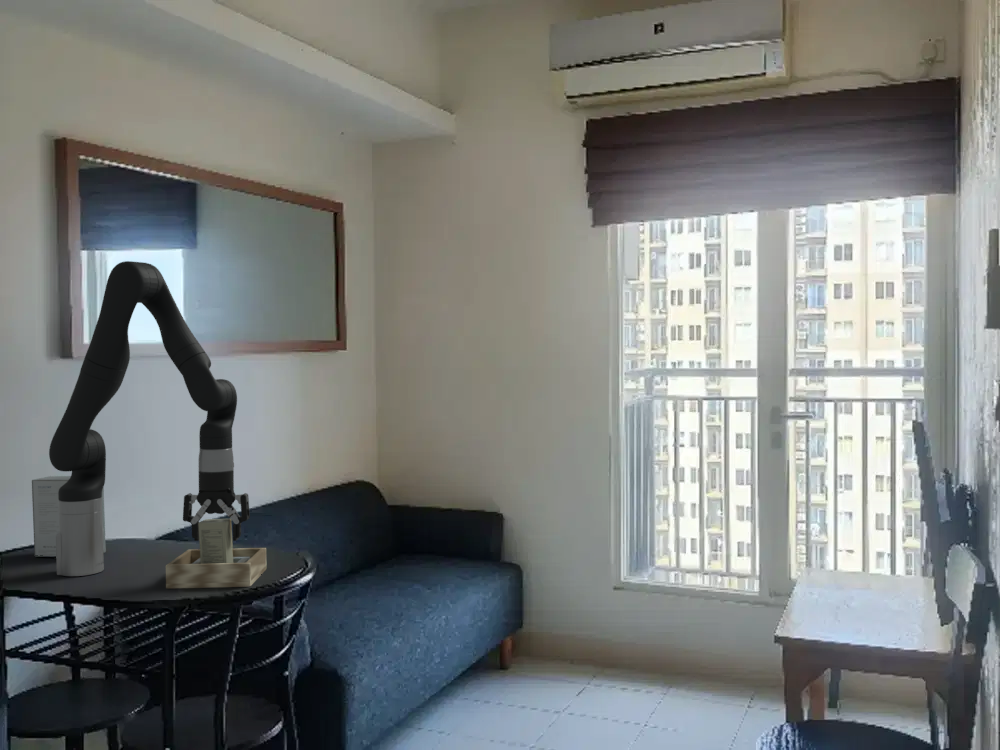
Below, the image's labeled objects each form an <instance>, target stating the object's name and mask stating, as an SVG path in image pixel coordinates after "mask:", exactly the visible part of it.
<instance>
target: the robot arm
mask: <svg viewBox="0 0 1000 750" xmlns="http://www.w3.org/2000/svg"><path fill="white" fill-rule="evenodd" d="M138 303H139V304H142V306H144V307H145V308H146V309H147V311H149V312H150V314H151V316H153V318H154V320H155V322H156V324H157V326H158V328H159V332H160V337H161V341H162V344H163V347H164V349H165V351H166V354H167V355H168V357H169V359H170V360H171V362H172V363H173V364H174V366H175V367H176V369H177V370H178V371H179V373H180V374H181V376H182V378H183V381H184V383H185V386H186V389H187V391H188V394H189V395H190V398H191V400H192V401H193V402H194V404H195V405H196V406H197V407H198V408H200V409H201V410H203V411H204V412H207V413H206V420H204V421H205V422H203V423H202V424H201V425H200V428H199V435H198V436H199V452H198V453H199V454H198V493H197V494H193V493H191V492H190V493H187V494H185V495H184V496H183V507H182V509H183V511H182V512H183V513H182V520H183V521H184V522H188V523H189V524H191V538H192V539H194V541H197V542H198V541H199V525H198V522H201V520H202V518H203V517H204V515H205V514H206V513H207V514H208V515H213V514H218V515H222V514H226V515H227V517H228V518H229V519H231V522H232V523H233V524H232V542H233V541H238V540H239V539H240V537H241V536H242V523H243V522H247V520H250V517H251V516H250V500H249V494H248V493H246V492H245V493H242V494H236V493H235V490H234V489H235V488H234V487H235V485H234V483H235V481H234V470H235V469H234V468H235V463H234V451H233V425H234V421H235V416H236V411H237V406H238V405H237V404H238V394H237V389H236V388H235V386H234V384H233V383H232V382H231V381H229V380H227V379H223V378H222V379H221V378H219V379H218V378H217V379H216V378H215V377H214V375H213V373H212V371H211V370H210V369H211V366H212V361H211V359H210V357H209V355H208V354H207V352H206V351H205V349H204V348H203V347H202V345H201V344H200V343H199V341H198V339H197V338H196V337H195V335H194V334H193V332H192V331H191V329H190V327H189V326H188V324H187V322H186V321H185V319H184V317H183V315H182V313H181V312H180V309H179V307H178V305H177V303H176V301H175V299H174V297H173V296H172V292H171V290H170V288H169V286H168V284H167V282H166V279H165V278H164V276H163V274H162V273H161V271H160V270H159V268H157V267H156V266H155V265H153V264H151V263H148V262H141V261H132V260H131V261H129V260H127V261H126V260H124V261H122V262H119V263H117V264H116V265H115V266H114V267H113V268H112V269H111V270H110V273H109V276H108V279H107V281H106V284H105V289H104V294H103V299H102V303H101V308H100V312H99V315H98V318H97V322H96V324H95V328H94V331H93V334H92V337H91V340H90V343H89V345H88V348H87V350H86V353H85V356H84V359H83V361H82V365H81V368H80V371H79V374H78V378H77V381H76V383H75V386H74V389H73V391H72V394H71V396H70V399H69V401H68V405H67V406H66V409H65V411H64V413H63V416H61V417H62V418H61V420H60V421H59V424H58V426H57V428H56V430H55V432H54V434H53V437H52V440H51V442H50V444H49V451H48V455H49V461H50V463H51V465H52V466H53V468H54V469H55V470H57V471H58V472H59V471H60V472H71V475H70V476H71V477H70V479H69V480H68V481H67V482H66V483H65V484H64V485H63V486H62V487H60V489H59V491H58V500H59V533H57V534H56V558H55V559H56V560H55V562H56V576H65V577H80V576H90V575H95V574H98V573H101V572H103V571H104V568H105V566H104V565H105V564H104V563H105V561H104V560H105V559H104V553H103V520H102V489H103V487H105V484H106V471H107V470H106V468H107V467H106V465H107V463H106V462H107V451H106V443H105V441H104V439H103V436H102V435H101V434H100V433H99V432H98V431H96V430H94V429H92V428H91V427H92V426H93V423H94V421H95V419H96V418H97V416H98V415H99V413H100V412H101V411H102V410H103V409H104V408H105V406H106V405H108V403H109V402H110V401H111V400H112V398H114V396H115V395H116V394H117V392H118V391H119V389H120V387H122V383H123V381H124V378H125V376H126V373H127V370H128V367H129V363H130V359H131V353H130V352H131V351H130V348H131V347H130V341H129V326H130V322H131V319H132V316H133V313H134V311H135V308H136V306H137V305H138ZM196 501H197V502H198V504H199V505H200V506H201V507H200V508H199V509H198V511H196V513H195V515H193V504H195V503H196ZM235 501H237V503H238V505H240V512H241V516H240V514H239V513H238V512H237V509H236V508H235V506H233V504H234V502H235Z"/></svg>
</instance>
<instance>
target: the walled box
mask: <svg viewBox="0 0 1000 750" xmlns="http://www.w3.org/2000/svg"><path fill="white" fill-rule="evenodd" d="M267 566H268V565H267V547H244V548H243V547H242V548H240V547H239V548H238V547H237V548H233V563H208V564H201V563H200V548H199V549H198V548H197V549H190V548H189V549H187V550H186V551H184V552H183V553H181V554H180V555H179V556H177V557H176V558H174V559H173V560H171V561H169V563H167V564H166V565H165V589H203V588H243V587H244V588H245V587H246V588H247V587H252V585H253V584H254V583H255V582H257V580H258V579H259V578H260V577H261V576H262V575H263V573H264V572H266V571H267ZM261 574H262V575H261Z"/></svg>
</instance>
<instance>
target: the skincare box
mask: <svg viewBox="0 0 1000 750" xmlns="http://www.w3.org/2000/svg"><path fill="white" fill-rule="evenodd" d="M198 525H199V540H198V541H199V543H198V544H199V549H200V563H201V564H208V563H233V549H234V547H233V546H234V545H233V524H232V520H231V518H205V519H203V520H200V521H199V522H198Z"/></svg>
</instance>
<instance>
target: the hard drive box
mask: <svg viewBox="0 0 1000 750" xmlns="http://www.w3.org/2000/svg"><path fill="white" fill-rule="evenodd" d="M70 477H71V475H57V476H56V475H52V476H51V475H50V476H49V475H48V476H45V477H40V478H36V479H32V480H31V496H32V498H31V499H32V500H31V501H32V520H33V525H32V527H33V546H34V547H33V549H34V550H33V552H34V556H35V555H38V556H40V555H43V556H56V534H57V533H59V500H58V491H59V489H60V487H62V486H63V485H64V484H65V483H66V482H67V481H68V480H69V479H70ZM104 487H105V486H104ZM104 487H103V489H102V520H103V554H104V553H106V552H107V549H106V548H107V544H106V519H105V518H106V517H105V496H104V491H105V490H104Z"/></svg>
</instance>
